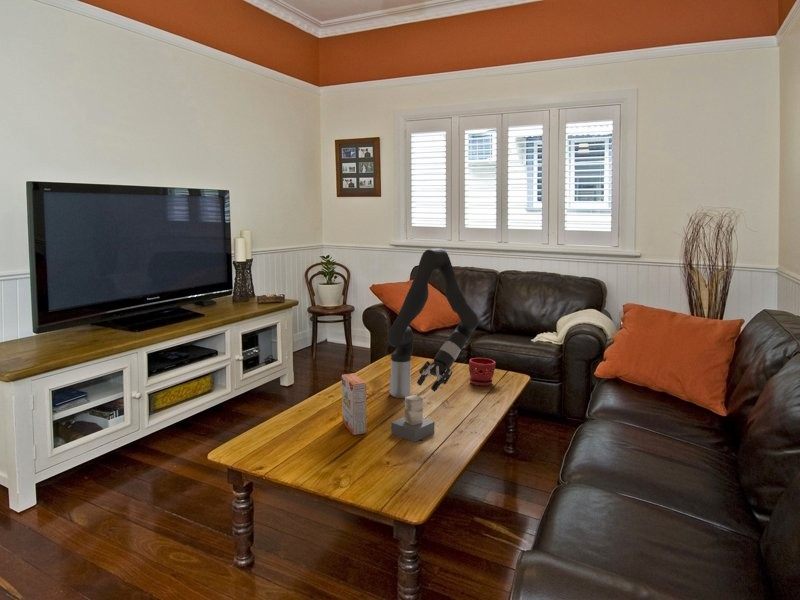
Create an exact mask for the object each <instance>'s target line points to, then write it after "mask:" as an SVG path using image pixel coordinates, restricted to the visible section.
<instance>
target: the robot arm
mask: <svg viewBox="0 0 800 600" xmlns="http://www.w3.org/2000/svg"><path fill="white" fill-rule="evenodd" d="M419 259H420V260H419V263H418V266H417V269H416V272H415V275H414V278H413V280H412V283H411V285H410V287H409V289H408V292H407V293H406V296H405V298H404V300H403V303H402V305H401V308H400V309H399V312H398V314H397V316H396V318H395V320H394V321H393V324H392V325H391V327H390V328H389V330H388V333H387V342H388V344H389V345H390V346H391V347H394V348H396V349H395V350H394V351H392V353H391V355H390V358H391V359H390V374H389V394H390V395H391V397H394V398H397V399H398V398H401V399H403V398H404V399H405V397H408V396H411V369H412V365H411V363H412V361H411V360H412V359H411V358H412V355H413V352H414V351H413V350H414V349H413V348H414V332H413V330H412V328H411V327H410V324H411V323H412V322H413V321H414V320H415V319H416V318H417V317H418V315H420V313H421V312H422V311H423V310H424V307H425V305H426V303H427V301H428V298H429V281H430V278H431V276H432V274H433V273H434V271H439V273H440V274H441V276H442V279H443V282H444V292H445V293H444V294H445V297H446V300H447V302H448V303H449V306H450V307H451V309H452V311H453V313H455V314H457V316H458V318H459V319H460V321H459V322H458V324H457V326H456V327H455V328H454V331H452V333H450V335H449V337H448V338H447V339H446V341H445V342H444V343H443V345H442V346H441V347H440V349H439V350H438V351H437V353H436V355H434V358H433V362H432V363H431V362H430V361H429V360H428V361H425V362H424V364H423V366H422V367H421V368H420V370H419V372H418V373H419V374H420V377H418V379H417V381H416V384H417V385H418V386H422V385H423V383H424V382H425V381H426V379H427V378H428V377H432V376H433V377H434V376H435V377H436V380H435V382H434V383H433V384H432V386H431V388H430V389H431V391H433V392H434V393H435V392H436V391H437V390H438V389H439V387H440V386H441V385H442V384H443V385H446V384H447V382H448V381H449V380H450V378H451V376H452V375H453V371H452V370H451V367H452V366H453V364H454V363H455V361H456V360H457V358H458V357H459V355H460V353H461V351H462V350H463V348H464V347H465V345H466V343H467V341H468V339H470V337H471V335H472V334H473V333H474V331H475V330H476V328H477V327H478V326H479V318H478V316H477V313H476V312H475V311H474V309H473V308H472V307H471V306H470V304H469V303H468V301H467V299H466V297H465V294H464V293H463V291H462V289H461V287H460V285H459V282H458V279H457V277H456V274H455V270H454V268H453V264H452V261H451V259H450V256H449V254H448V252H447V251H446V250H445V249H443V248H439V247H437V248H429V249H428V248H427V249H426V250H425V251H424V252H423V253H422V255H421V257H420V258H419Z"/></svg>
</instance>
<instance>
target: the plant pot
mask: <svg viewBox="0 0 800 600" xmlns="http://www.w3.org/2000/svg"><path fill="white" fill-rule="evenodd" d="M495 369H496V361H495V360H493V359H491V358H486V357H474V358H472V357H471V358H470V359H469V362H468V371H469V375H470V378H469V382H470V383H471V384H473V385H475V386H479V385H480V387H481V386H483V387H486V386H489V385H491V384H492V383H493V376H494V374H495V371H496V370H495Z"/></svg>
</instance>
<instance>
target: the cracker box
mask: <svg viewBox="0 0 800 600" xmlns="http://www.w3.org/2000/svg"><path fill="white" fill-rule="evenodd" d="M341 395H342V396H341V401H342V402H341V404H342V406H341V407H342V413H341V414H342V423H343V425H344V427H346V428H347V430H348V431H349V432H350V433H351V434H352V436H356V435H357V436H358V435H362V434H364V435H365V434H367V383H366V382H365V381H364V380H363V379H362V378H361V377H359V376H358V375H357V374H356V373H343V374H341Z"/></svg>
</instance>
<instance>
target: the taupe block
mask: <svg viewBox="0 0 800 600" xmlns="http://www.w3.org/2000/svg"><path fill="white" fill-rule="evenodd" d="M423 401H424V399H423V397H421V396H419V395H416V394H412V395H410V396H408V397H405V398H404V417H405V422H407V423H408V424H410V425H416V424H420V423H423V418H424V417H423V415H424V414H423V411H424V408H423V406H424V405H423Z"/></svg>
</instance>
